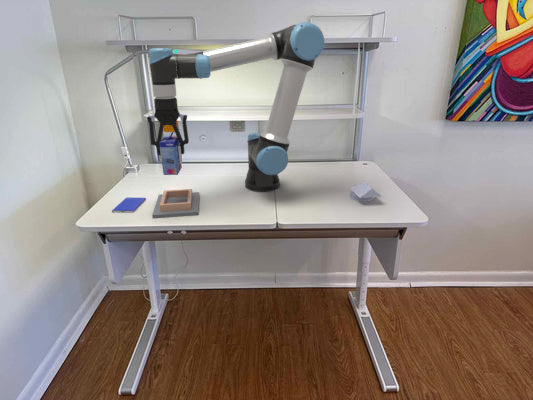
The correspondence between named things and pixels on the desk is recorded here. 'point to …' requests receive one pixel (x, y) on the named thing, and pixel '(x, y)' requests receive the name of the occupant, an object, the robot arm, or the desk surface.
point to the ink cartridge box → (170, 155)
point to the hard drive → (129, 205)
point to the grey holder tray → (176, 204)
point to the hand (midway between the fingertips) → (172, 163)
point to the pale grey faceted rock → (363, 192)
